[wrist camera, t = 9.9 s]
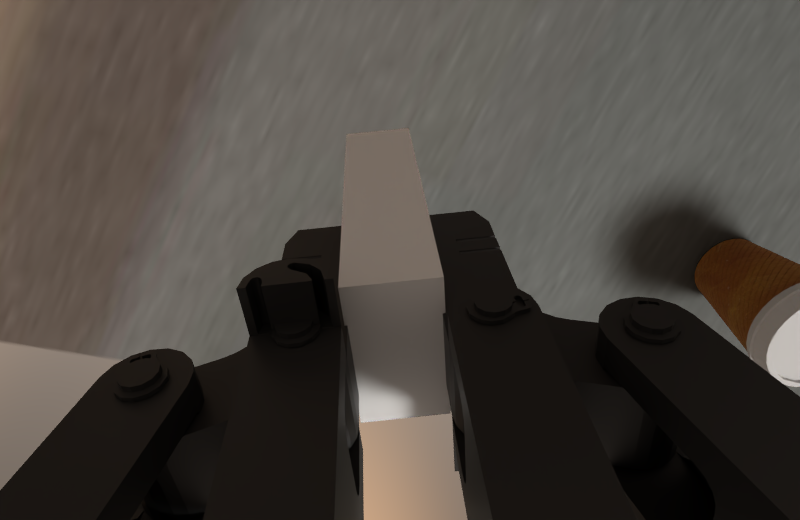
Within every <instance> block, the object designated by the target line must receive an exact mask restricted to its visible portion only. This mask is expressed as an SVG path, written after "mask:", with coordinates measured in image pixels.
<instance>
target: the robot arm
mask: <svg viewBox="0 0 800 520" xmlns="http://www.w3.org/2000/svg"><path fill="white" fill-rule="evenodd" d="M236 289H237V293H238V296H239V300H240V303H241V307H242V310H243V314H244V317H245V321H246V324H247V328H248V331H249V335H250V337H249V341H248V345H247V347H245V348H244V349H242V350H240V351H239V352H237V353H234V354H232V355H230V356H227V357H225V358H222V359H219V360H216V361H213V362H210V363H206V364H203V365H200V366H197V367H194V365H193V362H192V359H190V358H189V357H188V356H187V355H186V354H185V353H183V352H181V351H177V350H173V349H156V350H148V351H145V352H142V353H139V354H136V355H132V356H130V357H128V358H126V359H124V360H123V361H121V362H119V363H117V364H115V365H114V366H112V367H111V368H110V369H109V370H108V371H106V372H105V373H104V374H103V375H102V376H101V377H100V378H99V379H98V380H97V381H96V382H95V383H94V384H93V385H92V386H91V388H90V389H89V390H88V391H87V392H86V393H85V394H84V396H83V397H82V398H81V399H80V400H79V401H78V403H77V404H76V405H75V406H74V407H73V408H72V409H71V410H70V412H69V413H68V414H67V415H66V416H65V417H64V418H63V420H62V421H61V422H60V423H59V424H58V425H57V426H56V428H55V429H54V430H53V431H52V432H51V433H50V435H49V436H48V437H47V438H46V439H45V440H44V441H43V442H42V443H41V445H40V446H39V447H38V448H37V449H36V450H35V451H34V453H33V454H32V455H31V456H30V457H29V458H28V460H27V461H26V462H25V463H24V464H23V465H22V466H21V467H20V469H19V470H18V471H17V472H16V473H15V474H14V475H13V477H12V478H11V479H10V480H9V481H8V482H7V483H6V485H5V486H4V487H3V488H2V489H1V490H0V520H364V516H363V515H364V514H363V448H362V442H361V436H360V431H359V414H360V420H361V423H363V422H372V421H382V420H390V419H400V418H409V417H420V416H429V415H438V414H448V413H450V406H451V411H452V419H453V440H454V461H455V471H459V474H460V479H461V485H462V490H463V496H464V502H465V507H466V513H467V518H468V520H800V397H799V396H798V395H797V394H795V393H794V392H793V391H792V390H790V389H789V388H788V387H786V386H785V385H784V384H782V383H781V382H780V381H779V380H777V379H776V378H775V377H773V376H772V375H771V374H770V373H768V372H767V371H766V370H764V369H763V368H762V367H761V366H759V365H758V364H757V363H755V362H754V361H753V360H751V359H750V358H749V357H748V356H746V355H745V354H744V353H742V352H741V351H740V350H739V349H737V348H736V347H735V346H733V345H732V344H731V343H730V342H728V341H727V340H726V339H724V338H723V337H722V336H720V335H719V334H718V333H717V332H715V331H714V330H713V329H711V328H710V327H709V326H708V325H706V324H705V323H704V322H702V321H701V320H700V319H699V318H697V317H696V316H695V315H693V314H692V313H690V312H688V311H687V310H685V309H683V308H681V307H680V306H678V305H676V304H673V303H670V302H666V301H663V300H660V299H655V298H645V297H633V298H625V299H619V300H617V301H615V302H613V303H611V304H609V305H607V306H606V307H605V308H604V310H603V311H602V312H601V313H600V315H599V322H598V323H595V322H586V321H577V320H569V319H563V318H557V317H554V316H551V315H548V314H545V313H542V311H541V309H540V307H539V305H538V304H537V303H536V301H535V300H534V299H533V298H532V297H531V295H529V294H527V293H525V292H523V291H521V290H520V289H518V288H517V286H516V284H515V282H514V279H513V277H512V275H511V272H510V270H509V268H508V265H507V263H506V261H505V258H504V256H503V253H502V251H501V250H500V246H499V244H498V242H497V239H496V238H495V235H494V232H493V230H492V228H491V225H490V223H489V221H487V220H486V219H484V218H483V217H482V216H480V215H479V214H477V213H476V212H475V211H465V212H456V213H446V214H436V215H429V212H428V208H427V204H426V200H425V195H424V191H423V187H422V183H421V178H420V174H419V170H418V166H417V162H416V157H415V153H414V149H413V145H412V140H411V136H410V132H409V128H404V129H394V130H384V131H374V132H364V133H354V134H347V136H346V154H345V172H344V191H343V209H342V226H336V227H326V228H317V229H307V230H298V231H297V233H296V234H295V235H294V236H293V237H292V238H291V239H290V240H289V241H288V242H287V243H286V244H285V248H284V253H283V257H282V260H280V261H275V262H271V263H269V264H266V265H264V266H261V267H259V268H257V269H255V270H254V271H252V272H251V273H250V274H248V275H247V276H245V277H244V278H243V279H242V281H241V282H240V284H239V285H238V287H237V288H236Z"/></svg>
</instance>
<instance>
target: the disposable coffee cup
mask: <svg viewBox="0 0 800 520" xmlns="http://www.w3.org/2000/svg"><path fill="white" fill-rule="evenodd" d="M695 283H696V286H697V288H698V289H699V290H700V292H701V293H702V294H703V295H704V297H705V298H706V299H707V300H708V302H709V303H710V304H711V305H712V307H713V308H714V309H715V311H716V312H717V313H718V314H719V316H720V317H721V318H722V319H723V321H724V322H725V323H726V325H727V326H728V327H729V328H730V330H731V331H732V332H733V334H734V335H735V336H736V337H737V339H738V340H739V341H740V342H741V344H742V345H743V346H744V348H745V349H746V350H747V352H748V355H749V358H750V359H751V360H753V361H754V362H755V363H757V364H758V365H759V366H761V367H762V368H763V369H764V370H766V371H767V372H768V373H770V374H771V375H772V376H773V377H775V378H776V379H777V380H779V381H780V382H781V383H783V384H785V385H789V386H793V387H800V264H797V263H795V262H793V261H791V260H789V259H787V258H784V257H782V256H780V255H778V254H776V253H773V252H771V251H769V250H767V249H765V248H762V247H760V246H758V245H756V244H754V243H752V242H750V241H748V240H744V239H731V240H726V241H723V242H721V243H719V244H717V245H715V246H714V247H712V248H711V249H710V250H709V251H708V252H707V253H706V254H705V255H704V256H703V257H702V258H701V260H700V261H699V263H698V265H697V268H696V271H695Z"/></svg>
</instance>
